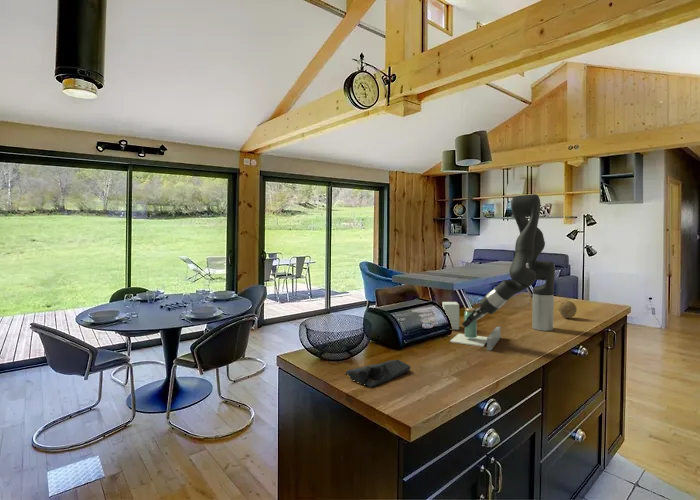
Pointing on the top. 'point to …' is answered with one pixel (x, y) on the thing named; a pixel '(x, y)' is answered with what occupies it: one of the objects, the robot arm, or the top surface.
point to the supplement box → (452, 313)
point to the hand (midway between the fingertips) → (466, 324)
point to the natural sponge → (567, 309)
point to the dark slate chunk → (378, 372)
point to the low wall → (493, 338)
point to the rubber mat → (469, 340)
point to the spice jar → (470, 325)
